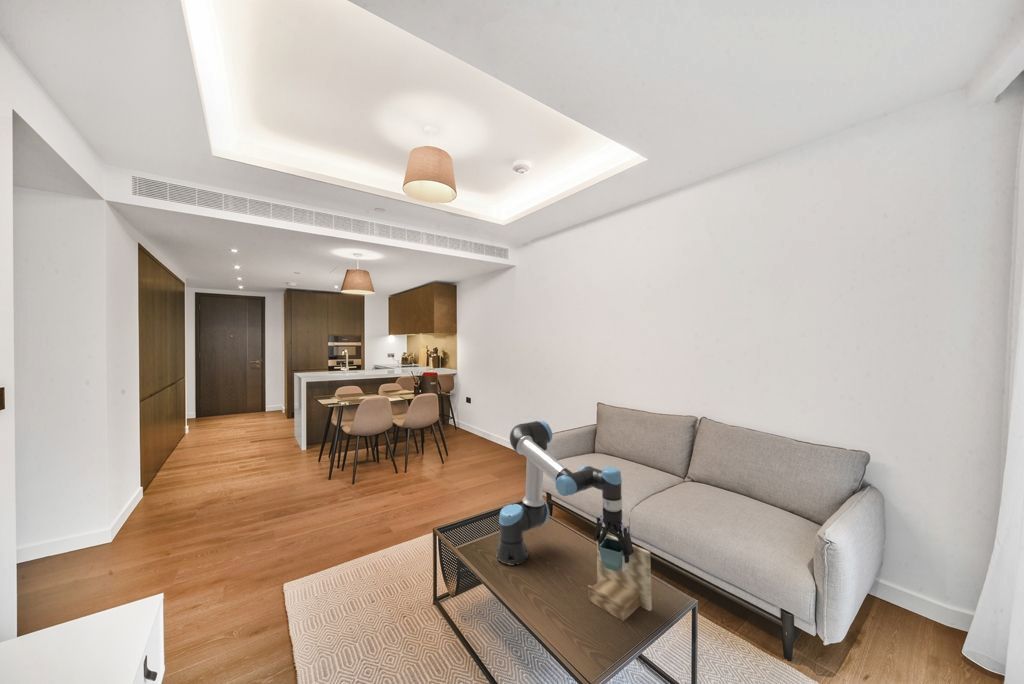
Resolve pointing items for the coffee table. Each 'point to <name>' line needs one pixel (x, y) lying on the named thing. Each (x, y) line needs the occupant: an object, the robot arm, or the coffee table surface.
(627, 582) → the board
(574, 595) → the coffee table surface
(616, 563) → the flower pot
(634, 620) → the coffee table surface
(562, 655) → the coffee table surface
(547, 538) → the coffee table surface
